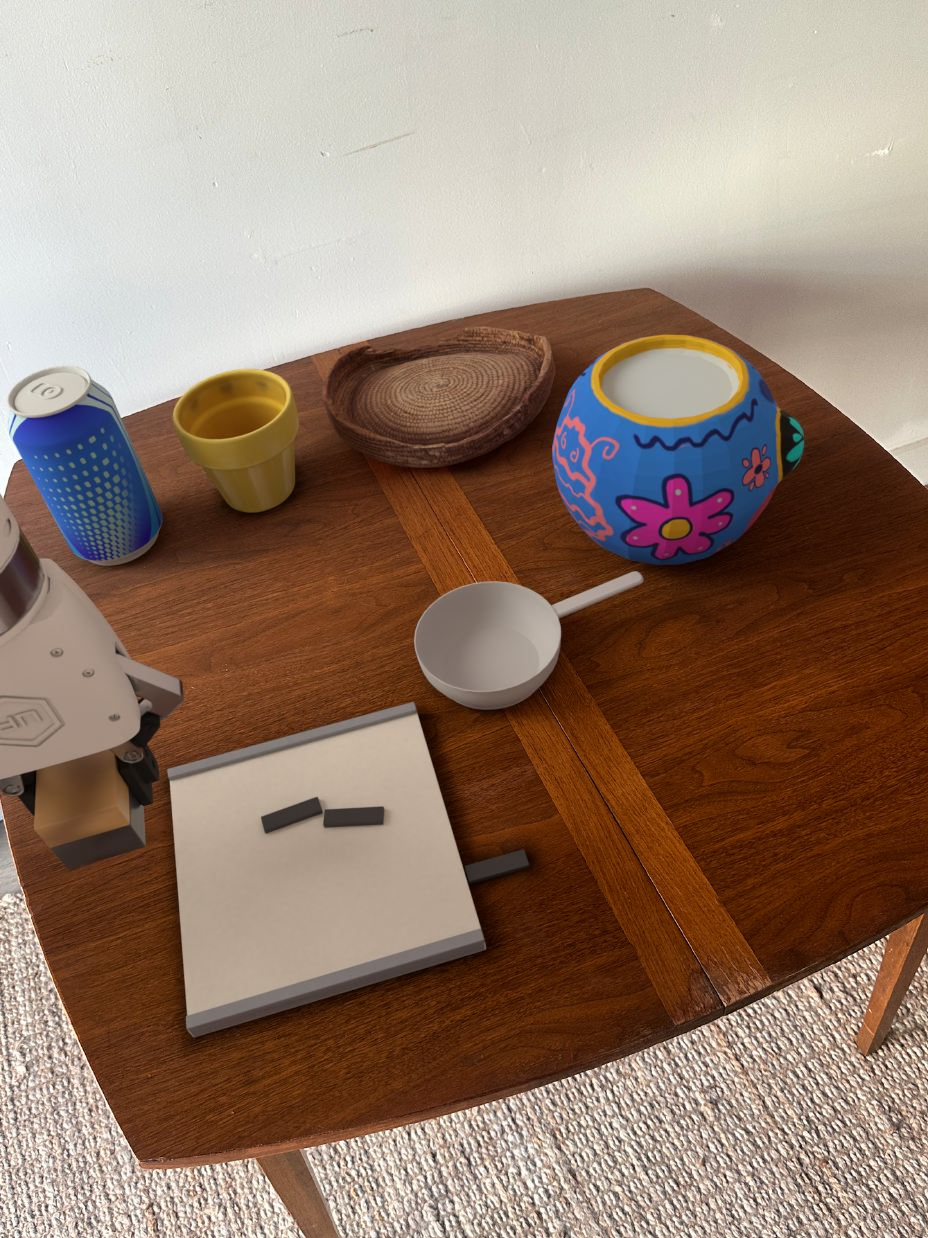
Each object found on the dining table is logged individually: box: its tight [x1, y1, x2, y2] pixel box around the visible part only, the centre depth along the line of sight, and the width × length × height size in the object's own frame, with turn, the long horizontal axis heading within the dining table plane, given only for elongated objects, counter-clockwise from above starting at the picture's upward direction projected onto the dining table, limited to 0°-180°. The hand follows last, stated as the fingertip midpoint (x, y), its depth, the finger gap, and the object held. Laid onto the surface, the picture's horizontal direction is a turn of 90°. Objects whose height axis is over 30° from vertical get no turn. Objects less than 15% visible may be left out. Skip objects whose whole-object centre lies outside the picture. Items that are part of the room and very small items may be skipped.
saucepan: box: [413, 570, 644, 711], centre depth 76 cm, size 11×18×4 cm, turn 112°
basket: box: [321, 326, 556, 469], centre depth 97 cm, size 22×20×5 cm
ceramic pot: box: [551, 334, 806, 566], centre depth 80 cm, size 18×18×15 cm
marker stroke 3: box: [464, 848, 530, 885], centre depth 65 cm, size 4×1×1 cm, turn 104°
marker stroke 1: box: [261, 797, 323, 833], centre depth 68 cm, size 4×1×1 cm, turn 110°
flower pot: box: [172, 368, 300, 514], centre depth 90 cm, size 10×10×10 cm
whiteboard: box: [167, 701, 487, 1038], centre depth 67 cm, size 18×19×1 cm
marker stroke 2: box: [323, 806, 384, 828], centre depth 68 cm, size 4×1×1 cm, turn 90°
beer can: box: [6, 365, 163, 567], centre depth 85 cm, size 8×8×16 cm
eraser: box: [33, 749, 147, 870], centre depth 59 cm, size 4×8×4 cm, turn 15°
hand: (102, 796), depth 60 cm, fingers closed on eraser, 4 cm apart
